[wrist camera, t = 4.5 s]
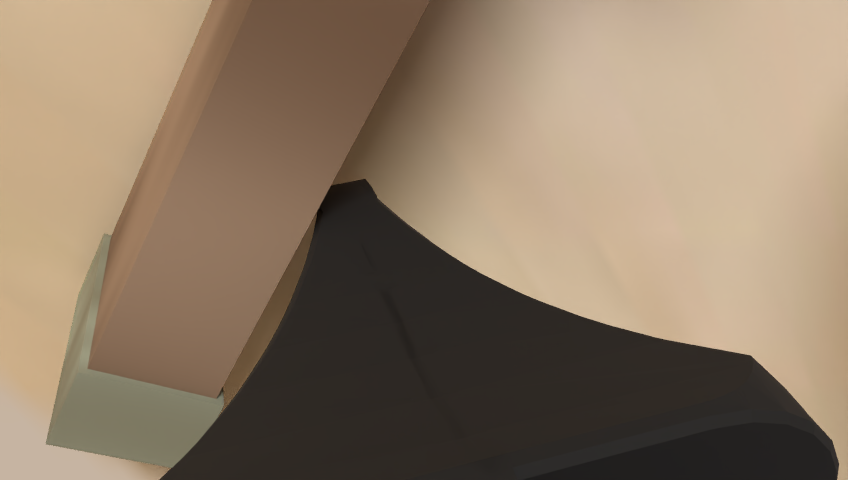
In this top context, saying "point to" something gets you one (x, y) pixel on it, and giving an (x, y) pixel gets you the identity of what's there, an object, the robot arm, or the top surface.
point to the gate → (218, 216)
